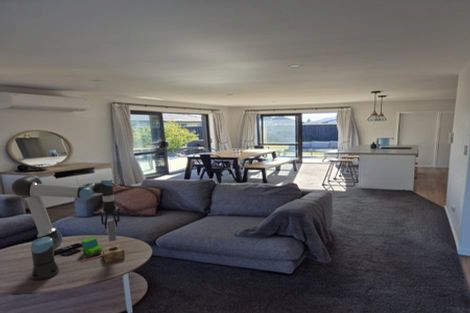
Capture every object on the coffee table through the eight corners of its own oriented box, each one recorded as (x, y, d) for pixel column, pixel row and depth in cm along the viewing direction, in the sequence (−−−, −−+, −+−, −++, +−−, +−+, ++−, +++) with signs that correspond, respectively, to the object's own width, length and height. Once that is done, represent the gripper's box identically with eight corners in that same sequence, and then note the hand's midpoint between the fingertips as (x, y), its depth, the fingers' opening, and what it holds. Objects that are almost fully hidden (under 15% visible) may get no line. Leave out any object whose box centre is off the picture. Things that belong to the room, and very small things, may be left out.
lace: (81, 262, 206) (80, 261, 206) (79, 260, 209) (79, 259, 209) (106, 254, 217) (106, 254, 217) (105, 253, 220) (105, 252, 220)
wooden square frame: (105, 262, 205) (104, 254, 204) (103, 255, 216) (102, 248, 215) (124, 258, 211) (124, 250, 210) (121, 251, 222) (121, 243, 222)
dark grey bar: (109, 241, 209) (107, 221, 207) (108, 239, 213) (106, 219, 211) (116, 240, 211) (114, 220, 209) (115, 238, 215) (113, 218, 213)
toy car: (90, 258, 213) (88, 245, 212) (81, 253, 221) (80, 241, 220) (103, 253, 221) (102, 240, 220) (94, 249, 229) (93, 236, 228)
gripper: (95, 204, 201) (98, 236, 204) (122, 199, 209) (125, 231, 212) (94, 201, 207) (97, 233, 210) (120, 197, 216) (123, 228, 219)
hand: (111, 232), depth 211 cm, fingers closed on dark grey bar, 4 cm apart
